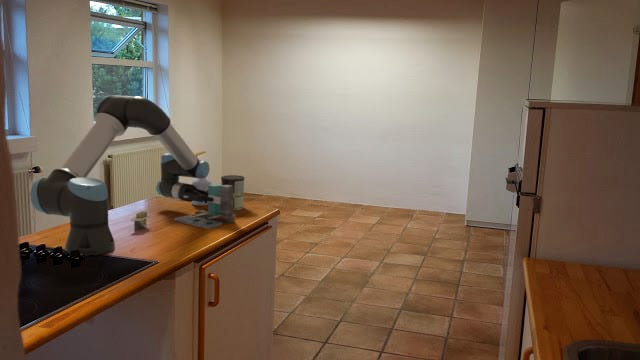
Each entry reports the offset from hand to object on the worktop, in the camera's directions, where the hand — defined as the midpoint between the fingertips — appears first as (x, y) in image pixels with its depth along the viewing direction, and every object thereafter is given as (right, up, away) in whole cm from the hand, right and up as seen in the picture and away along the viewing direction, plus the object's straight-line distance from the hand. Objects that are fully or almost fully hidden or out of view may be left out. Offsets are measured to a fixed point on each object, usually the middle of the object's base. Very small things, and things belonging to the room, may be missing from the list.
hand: (223, 199), depth 229 cm
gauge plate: (-10, -9, -3) cm, 14 cm away
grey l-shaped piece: (-7, -9, +2) cm, 11 cm away
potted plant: (-29, -11, -13) cm, 34 cm away
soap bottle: (-16, -3, +34) cm, 37 cm away
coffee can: (-1, -5, +27) cm, 28 cm away
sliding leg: (-7, -6, +1) cm, 9 cm away
